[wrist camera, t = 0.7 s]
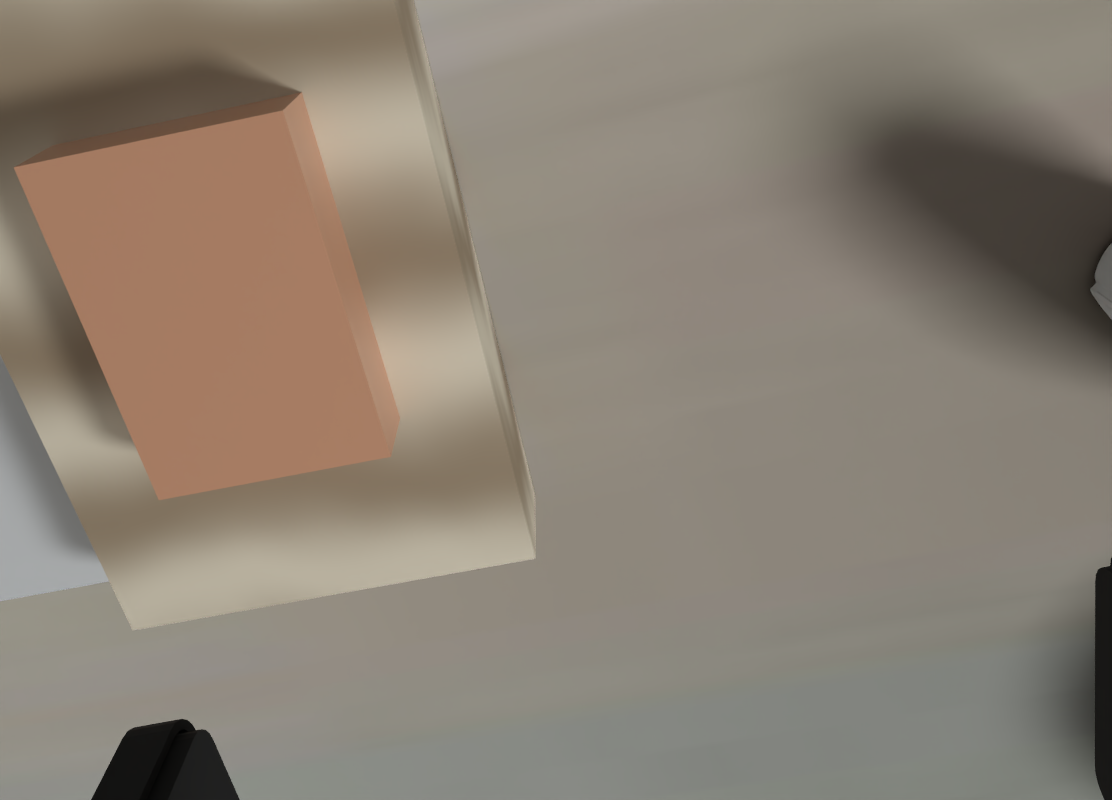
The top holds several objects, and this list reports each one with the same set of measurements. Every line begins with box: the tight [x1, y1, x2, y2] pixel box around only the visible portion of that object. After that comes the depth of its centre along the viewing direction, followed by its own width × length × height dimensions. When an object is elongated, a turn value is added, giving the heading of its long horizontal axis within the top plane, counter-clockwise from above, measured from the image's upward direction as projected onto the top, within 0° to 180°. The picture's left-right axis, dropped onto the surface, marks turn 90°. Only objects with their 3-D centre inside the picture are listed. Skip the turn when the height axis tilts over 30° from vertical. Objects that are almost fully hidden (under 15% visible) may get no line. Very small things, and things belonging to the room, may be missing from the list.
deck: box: [0, 0, 535, 630], centre depth 32 cm, size 22×14×4 cm, turn 11°
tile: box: [14, 92, 400, 500], centre depth 29 cm, size 10×7×2 cm
